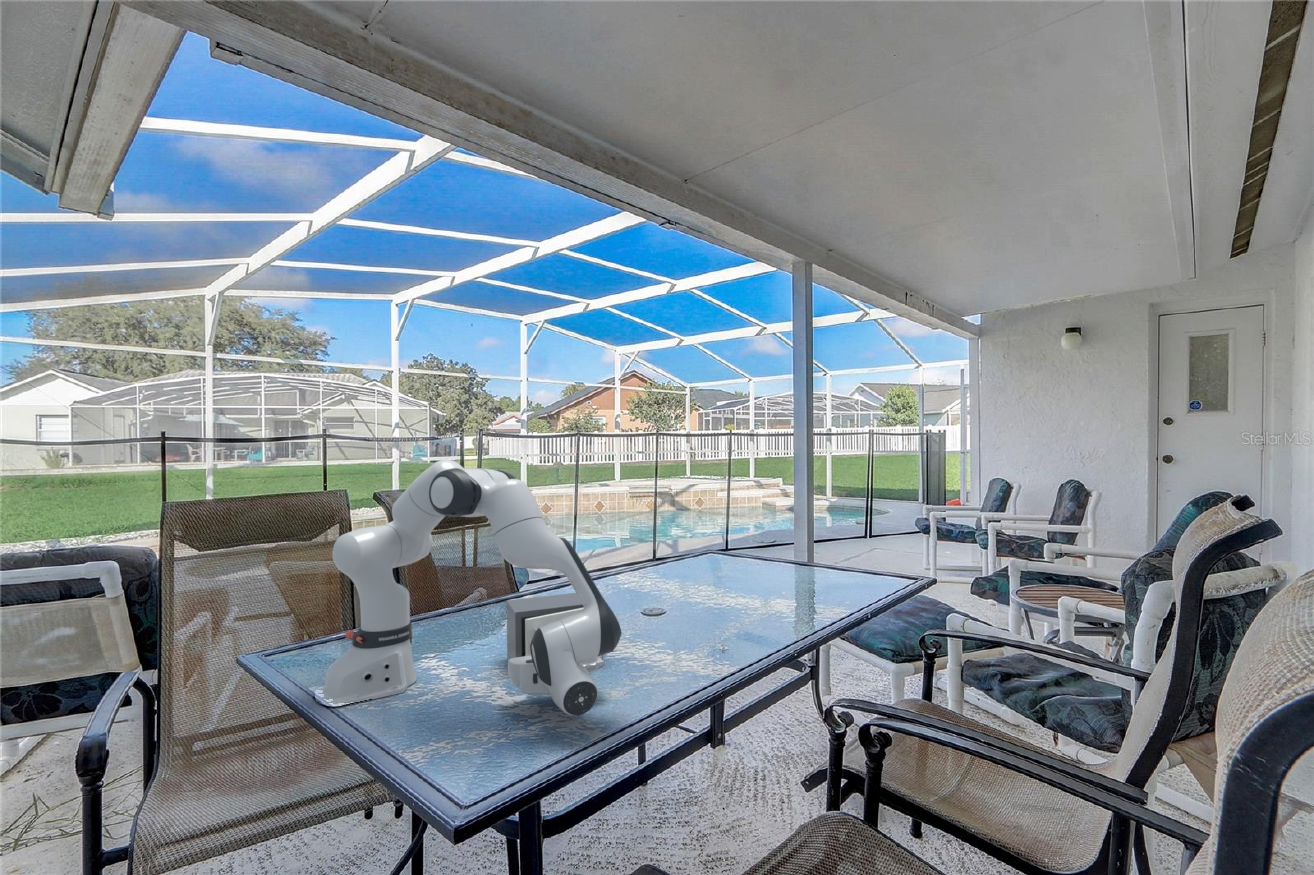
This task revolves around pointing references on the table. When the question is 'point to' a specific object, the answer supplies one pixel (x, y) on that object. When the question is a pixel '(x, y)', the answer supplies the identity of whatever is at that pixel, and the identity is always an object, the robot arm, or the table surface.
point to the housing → (533, 608)
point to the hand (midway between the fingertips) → (546, 653)
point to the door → (540, 621)
